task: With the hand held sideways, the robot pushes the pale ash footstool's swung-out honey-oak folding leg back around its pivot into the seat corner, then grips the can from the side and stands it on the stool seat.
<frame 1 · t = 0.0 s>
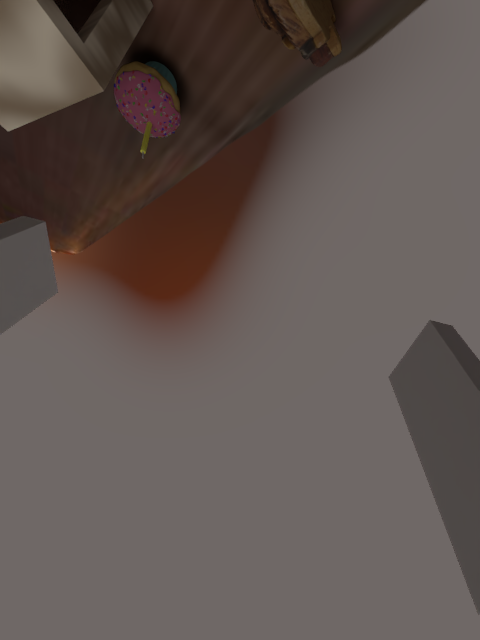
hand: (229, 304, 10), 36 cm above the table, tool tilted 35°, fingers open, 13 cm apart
cupcake: (159, 80, 40), on the table
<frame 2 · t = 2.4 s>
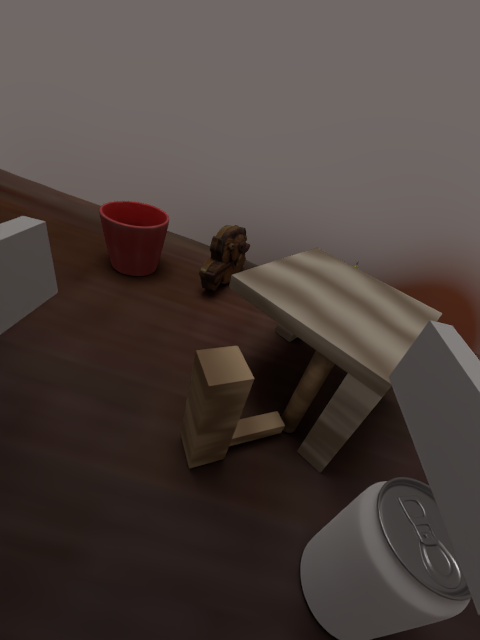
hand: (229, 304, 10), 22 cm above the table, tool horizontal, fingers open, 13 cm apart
flower pot: (135, 266, 53), on the table
gate leg: (258, 401, 27), point 6 cm above the table, hinge at 65.0°
can: (336, 583, 23), on the table
stool: (298, 381, 39), on the table
wooden carving: (223, 280, 56), on the table
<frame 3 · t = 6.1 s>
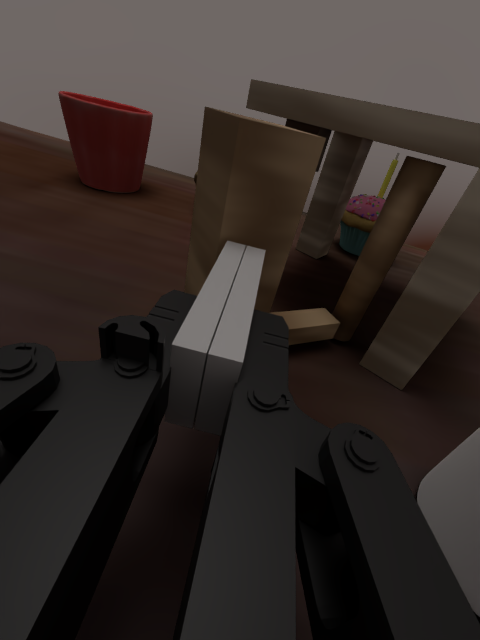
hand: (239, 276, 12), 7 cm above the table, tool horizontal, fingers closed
flower pot: (112, 186, 42), on the table
gate leg: (307, 263, 17), point 6 cm above the table, hinge at 64.6°, touching gripper
cupcake: (356, 251, 41), on the table
stool: (338, 293, 29), on the table
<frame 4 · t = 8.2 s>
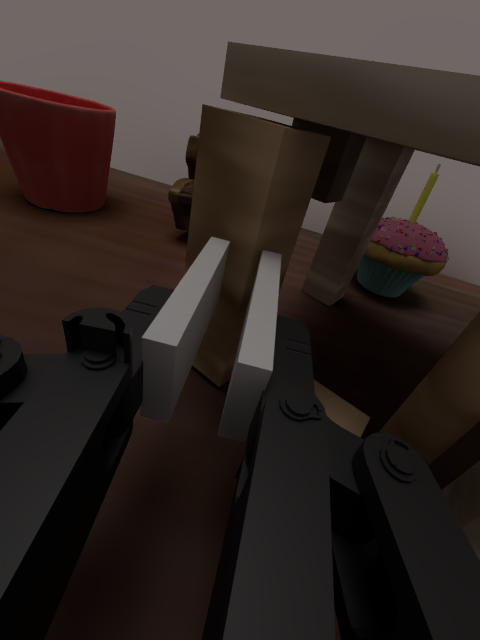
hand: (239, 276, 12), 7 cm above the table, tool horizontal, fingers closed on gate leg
flower pot: (68, 202, 33), on the table
gate leg: (321, 313, 12), point 6 cm above the table, hinge at 1.9°, touching gripper
cupcake: (378, 288, 32), on the table
stool: (365, 371, 20), on the table
wooden carving: (211, 226, 37), on the table
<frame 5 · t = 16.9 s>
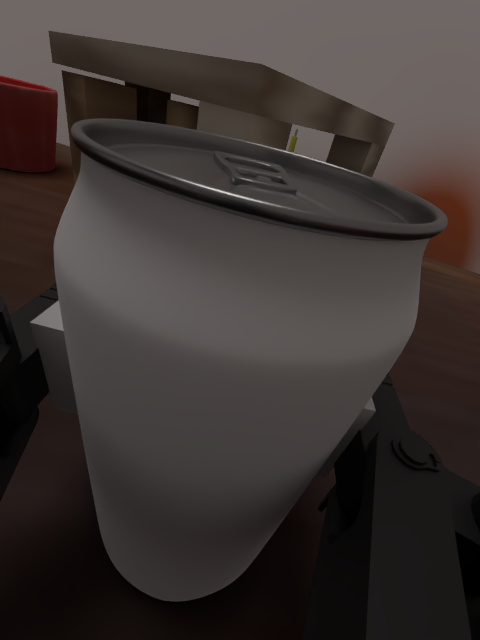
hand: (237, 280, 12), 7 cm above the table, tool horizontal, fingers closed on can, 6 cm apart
flower pot: (24, 166, 42), on the table
gate leg: (134, 192, 21), point 6 cm above the table, hinge at -4.4°
can: (188, 496, 12), on the table, touching gripper
stool: (210, 265, 28), on the table
when the fingers open (22 cm above the table, at t = 21.0 s): can drops 1 cm, resting on stool.
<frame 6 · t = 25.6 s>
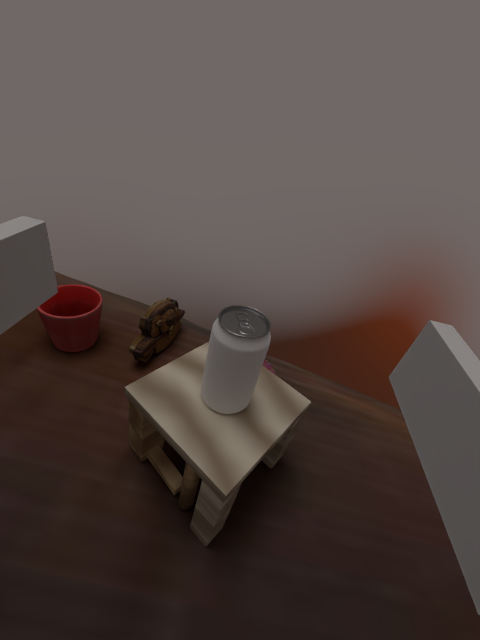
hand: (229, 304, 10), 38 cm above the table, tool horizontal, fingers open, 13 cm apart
flower pot: (76, 340, 59), on the table
gate leg: (165, 447, 39), point 6 cm above the table, hinge at -4.4°
can: (225, 395, 38), point 14 cm above the table, touching stool
stool: (207, 453, 46), on the table
wooden carving: (159, 346, 63), on the table
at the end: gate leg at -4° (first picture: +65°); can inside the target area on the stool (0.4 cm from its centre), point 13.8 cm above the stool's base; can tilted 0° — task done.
